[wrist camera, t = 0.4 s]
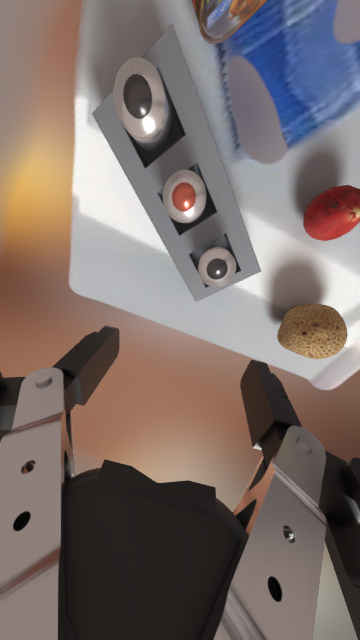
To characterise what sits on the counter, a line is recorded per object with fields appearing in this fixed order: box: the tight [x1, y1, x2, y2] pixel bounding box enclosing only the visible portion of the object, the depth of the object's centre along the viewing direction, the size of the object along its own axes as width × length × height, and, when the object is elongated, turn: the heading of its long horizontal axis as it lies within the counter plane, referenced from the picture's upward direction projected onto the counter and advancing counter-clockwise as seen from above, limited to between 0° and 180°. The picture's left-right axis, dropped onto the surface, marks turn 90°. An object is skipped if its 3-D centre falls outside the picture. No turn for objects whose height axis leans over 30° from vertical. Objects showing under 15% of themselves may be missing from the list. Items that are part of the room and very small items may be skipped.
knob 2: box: [198, 245, 236, 287], centre depth 22 cm, size 4×4×4 cm
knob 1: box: [113, 57, 172, 151], centre depth 16 cm, size 4×4×4 cm
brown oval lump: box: [277, 304, 347, 359], centre depth 28 cm, size 9×9×10 cm
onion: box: [303, 185, 360, 241], centre depth 22 cm, size 6×6×8 cm
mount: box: [92, 25, 261, 302], centre depth 24 cm, size 10×24×6 cm, turn 30°
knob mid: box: [163, 170, 206, 223], centre depth 19 cm, size 4×4×4 cm
